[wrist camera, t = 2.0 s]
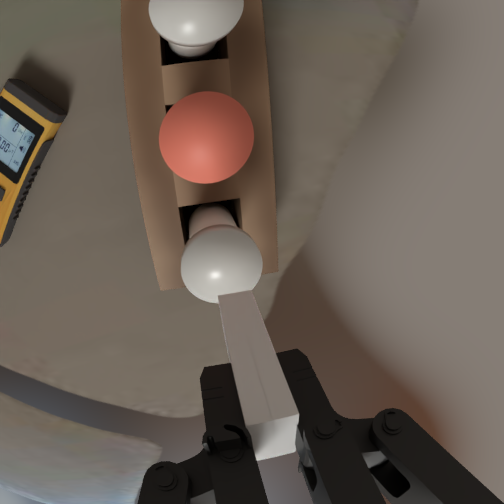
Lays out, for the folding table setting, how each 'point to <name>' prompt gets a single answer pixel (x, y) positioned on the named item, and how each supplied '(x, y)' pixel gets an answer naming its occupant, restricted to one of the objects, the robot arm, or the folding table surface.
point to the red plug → (206, 137)
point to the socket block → (156, 107)
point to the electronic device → (22, 146)
